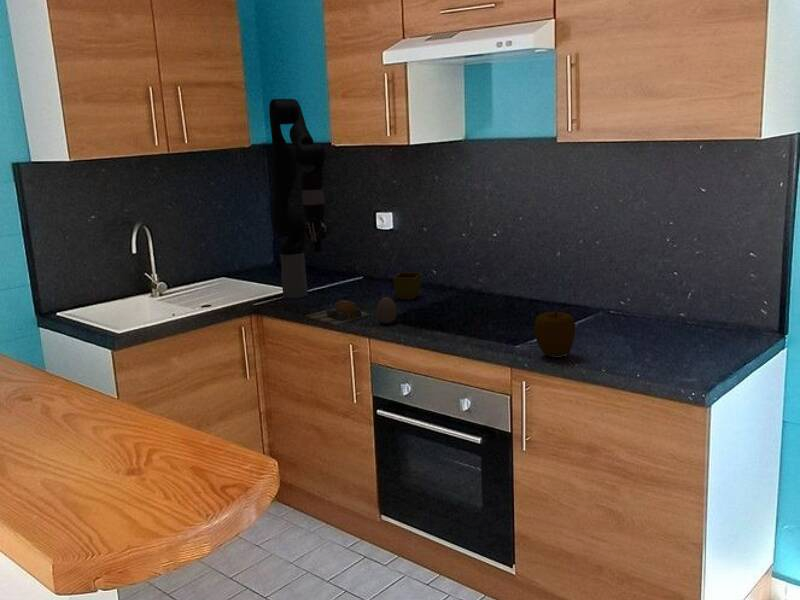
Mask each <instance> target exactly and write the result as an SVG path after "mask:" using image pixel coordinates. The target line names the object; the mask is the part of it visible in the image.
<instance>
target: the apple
mask: <svg viewBox="0 0 800 600" xmlns="http://www.w3.org/2000/svg"><path fill="white" fill-rule="evenodd" d="M575 333H576V322H575V318H574V317H573V315H572V314H570V313H566V312H561V311H548V312H543V313H541V314H539V315H538V316H537V318H536V320H535V323H534V336H535V340H536V343H537V344H538V347H539V349H540V351H541V353H542V354H543V353H544V354H543V355H545V354H547V355H551V356H552V355H553V356H561V355H565V354H568V355H570V352H571V350H572V348H573V347H572V346H573V344H574V341H575Z"/></svg>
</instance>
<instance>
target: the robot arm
mask: <svg viewBox="0 0 800 600" xmlns="http://www.w3.org/2000/svg"><path fill="white" fill-rule="evenodd" d="M268 110H269V111H268V112H269V122H270V125H269V126H270V131H271V132H270V133H271V145H272V147H271V148H272V151H271V152H272V177H273V178H272V179H273V209H272V226H273V230H274V232H275V234H276V236H278V237H279V238H286V237H287V239H286V241H285V242H284V243H282V244H281V245H280V247H279V255H280V266H281V273H280V275H281V277H280V278H281V288H282V295H283V298H285V299H300V298H301V299H302V298H305V297H307V296H308V283H307V273H306V271H307V270H306V260H305V245H306V235H307V237H308V240H311V242H312V244H313V245H312V246H313V248H312V249H313V252H315V253H320V252H322V241H323V240H325V238H326V236H327V233H328V231H329V225H328V226H327V225H325V220H324V216H326V203H325V193H324V185H323V171H324V165H325V160H326V155H327V153H326V149H325V147H324V146H323V145H322V144H321V143H315V142H314V139H313V137H312V135H311V134H310V131H309V130H308V128H307V125H306V120H305V118H304V114H303V111H302V107H301V105H300V103H299V101H298V100H297V99H295V98H273V99H271V100H270V101H269V107H268ZM281 125H292V126H291V127H290V130H289V139H290V142H291V143H292V146H293V147H294V152H293V150H292V149H291V147H290V146H289V144H288V143H287V141H286V139H285V137H284V135H283V133H282V128H281ZM298 165H299V166H313V169H312V170H310V171H307V172H303V174H302V175H301V186H302V188H301V189H302V208H303V215H302V213H300V211H298V210H289V202H290V197H291V195H292V193H293V190H294V188H295V187H296V183H297V180H298V173H299V172H298V169H299V168H298ZM303 216H304V217H305V218H306V223H305V220H304V217H303Z"/></svg>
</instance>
